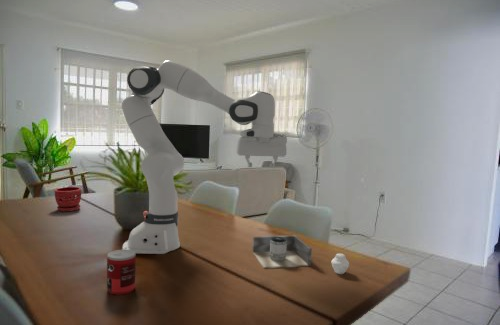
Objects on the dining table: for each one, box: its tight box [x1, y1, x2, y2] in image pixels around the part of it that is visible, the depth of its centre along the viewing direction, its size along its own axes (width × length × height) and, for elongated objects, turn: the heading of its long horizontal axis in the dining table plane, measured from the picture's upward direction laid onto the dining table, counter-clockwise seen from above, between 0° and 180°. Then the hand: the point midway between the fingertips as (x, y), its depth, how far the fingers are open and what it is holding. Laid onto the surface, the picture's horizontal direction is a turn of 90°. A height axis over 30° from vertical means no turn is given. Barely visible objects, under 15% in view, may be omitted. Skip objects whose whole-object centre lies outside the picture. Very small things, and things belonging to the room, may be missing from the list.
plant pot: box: [54, 186, 82, 212], centre depth 194 cm, size 13×13×12 cm
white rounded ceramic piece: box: [331, 253, 350, 275], centre depth 123 cm, size 6×6×7 cm
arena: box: [252, 234, 313, 270], centre depth 134 cm, size 18×16×7 cm
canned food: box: [106, 249, 137, 296], centre depth 103 cm, size 8×8×11 cm
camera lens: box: [270, 237, 287, 261], centre depth 132 cm, size 6×6×8 cm
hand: (261, 167), depth 141 cm, fingers open, 8 cm apart
